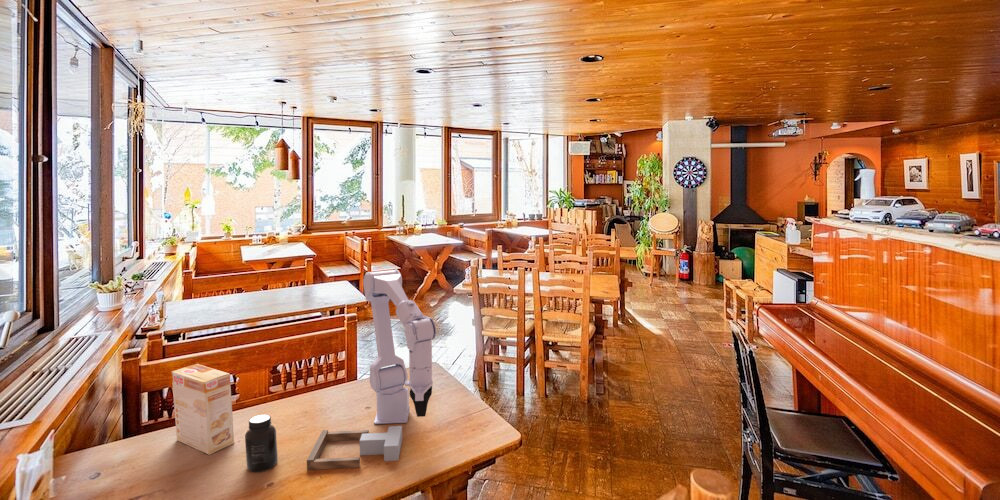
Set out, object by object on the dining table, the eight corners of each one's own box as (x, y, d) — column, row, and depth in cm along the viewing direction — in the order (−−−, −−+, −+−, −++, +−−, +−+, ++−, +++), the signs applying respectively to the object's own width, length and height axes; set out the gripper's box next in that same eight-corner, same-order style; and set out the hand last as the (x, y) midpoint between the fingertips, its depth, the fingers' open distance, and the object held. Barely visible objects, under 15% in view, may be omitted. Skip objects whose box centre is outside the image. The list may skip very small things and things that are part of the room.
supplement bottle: (284, 460, 119) (281, 414, 118) (262, 475, 113) (259, 427, 111) (262, 454, 121) (260, 410, 120) (240, 469, 115) (237, 422, 114)
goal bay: (368, 436, 131) (368, 428, 130) (359, 467, 116) (358, 457, 116) (322, 438, 129) (322, 430, 129) (307, 469, 115) (306, 460, 115)
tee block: (402, 439, 129) (402, 425, 129) (398, 460, 120) (398, 445, 119) (364, 441, 128) (364, 427, 128) (357, 462, 119) (357, 447, 118)
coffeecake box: (235, 443, 127) (231, 373, 124) (208, 456, 121) (203, 382, 118) (202, 429, 134) (197, 362, 131) (175, 440, 128) (169, 371, 125)
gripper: (407, 355, 129) (407, 403, 131) (402, 376, 115) (403, 429, 116) (433, 355, 130) (433, 402, 131) (431, 375, 115) (432, 428, 117)
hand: (421, 415), depth 124 cm, fingers closed
